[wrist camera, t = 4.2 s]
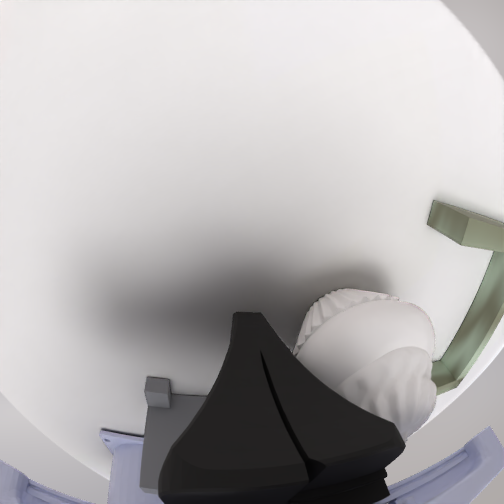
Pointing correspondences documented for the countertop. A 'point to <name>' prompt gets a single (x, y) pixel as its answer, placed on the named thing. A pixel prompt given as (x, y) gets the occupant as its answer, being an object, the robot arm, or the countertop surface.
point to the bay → (486, 301)
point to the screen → (163, 427)
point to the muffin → (372, 354)
